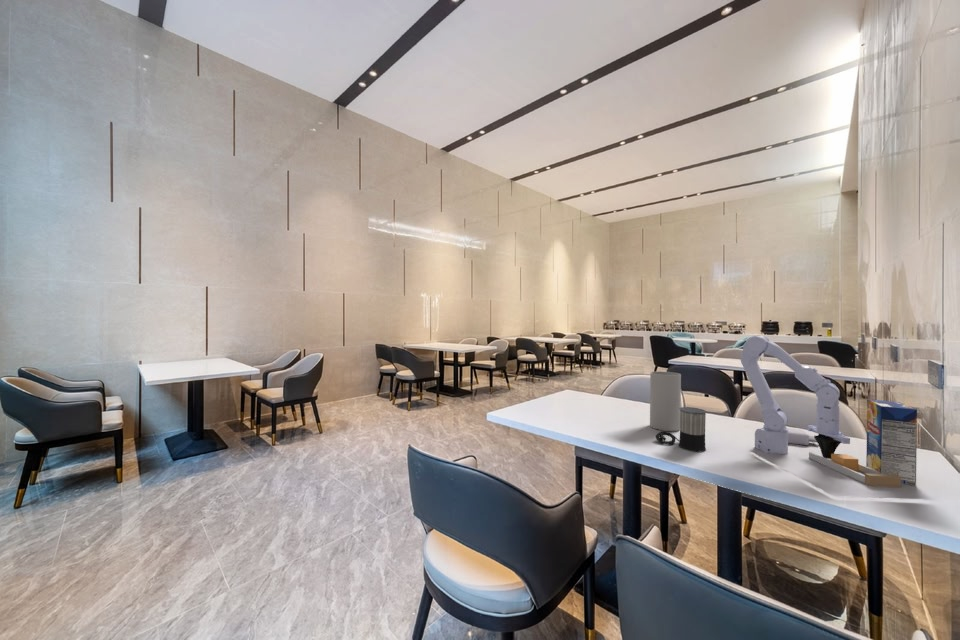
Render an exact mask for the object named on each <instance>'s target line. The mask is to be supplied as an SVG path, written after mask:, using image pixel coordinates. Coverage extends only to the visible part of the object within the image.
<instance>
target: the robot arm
mask: <svg viewBox="0 0 960 640" xmlns="http://www.w3.org/2000/svg"><path fill="white" fill-rule="evenodd" d="M742 346H743V347H742V351H741V355H740V363H741V364H742V365H741V366H742V367H743V369H744V372H745V374H746V376H747V378H748V381H749V382H750V385H751V387H752V389H753V391H754V393H755V396H756V398H757V400H758V402H759V404H760V409H761V413H762V415H763V418H762V422H763V427H762V428H757V429H756V430H755V431H754V448H756V449H757V450H759V451H762V452H763V453H766V454H767V453H768V454H780V455H783V454H784V455H786V454H788V453H789V452H788V451H789V443H788V429H787V428H788V427H787V426H786V424H788V422H789V416H788V415H787V413H786V412H785V411H783V410H782V408H781V407H780V405H779V403H778V402H777V400H776V399H775V396H774V395H773V392H772V390H771V388H770V386H769V384H768V382H767V380H766V378H765V375H764V374H763V372H762V369H761V367H760V365H759V363H758V362H759V360H760V358H761V356H762V355H763V354H764V355H768V356H772V357H775V358H776V359H778V360H779V361H780V362H781V363H782V364H784V365H785V366H786V367H787V368H789V369H790V370H792V371H793V372H794V377H795V378H796V379H797V380H798V381H800V383H802V384H803V385H804V386H805V387H806V388H808V389H809V390H810V391H813V392H815V396H816V397H817V403H816V425H811V424H810V425H807V431H808V432H813V433H815V434H817V435H816V436H814V438H815V439H816V441H817V442H816V443H817V444H818V446H819V449H820V452H821V457H823V458H826V459H831V454H834V453H835V451H836V450H837V448H838V447H839V446H840V444H843V445H844V444H846V445H850V444H851V437H848V436H846V435H844V434H843V432H842V431H840V402H839V398H840V395H841V394H840V393H841V391H840V389H839V388H838V387H837V386H836V384H835V383H832V381H831V380H830V379H826V378H825V377H823V376H822V375H821V374H820V373H819V372H818V369H816V367H814V368H812V367H811V366H806V365H805V366H804V365H802V364H801V363H800V362H799V361H798V360H796V359H795V358H794V357H793V356H792V355H791V354H790V353H788V352H787V351H785V350H784V348H782V347H781V346H780V345H778V344H777V343H776V342H775V341H772V340H770V339H769V338H768V337H767V336H765V335H757V336H756V335H754V336H751V337H749V338H748V339H747V340H746V341H745V342H744V344H742Z"/></svg>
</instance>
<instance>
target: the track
mask: <svg viewBox="0 0 960 640" xmlns="http://www.w3.org/2000/svg"><path fill="white" fill-rule="evenodd" d="M834 454H836V453H835V452H834ZM808 459H810V460H813V461H815V462H817V463H819V464H821V465H822V466H823V465H824V466H825V467H828V468H829V469H832V470H834V471H837V472H838V473H841V474H842V475H845V476H846V477H850V478H851V479H854V480H855V481H858V482H860V483H862V484H864V485H867V486H869V487H887V488H890V487H891V488H901V483H900V479H901V477H900V476H897V475H892V474H882V473H879V472H878V471H876V470H874V469H871V468H869V467H866V465H864V464H861V463H859V462H858V472H856V471H853V470H851V469H849V468H846V467H844V466H842V465H840V464H837V463H835V462H833V461H831V459H826V458H824V457H823V456H822V455H819V454H816V453H814V452H812V451H811V452H810V451H809V452H808Z"/></svg>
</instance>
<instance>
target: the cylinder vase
mask: <svg viewBox="0 0 960 640" xmlns="http://www.w3.org/2000/svg"><path fill="white" fill-rule="evenodd" d="M649 378H650V380H649V382H650V385H649V386H650V388H649V393H650V394H649V397H650V398H649V426H650V428H652V429H654V430H657V429H658V431H665V432H678V431H680V409H679V408H681V407H682V406H681V404H682V403H681V402H682V401H681V399H682V397H681V396H682V387H681V386H682V380H681V379H682V374H681V373H678V372H671V371H651V372H650V377H649Z"/></svg>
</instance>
